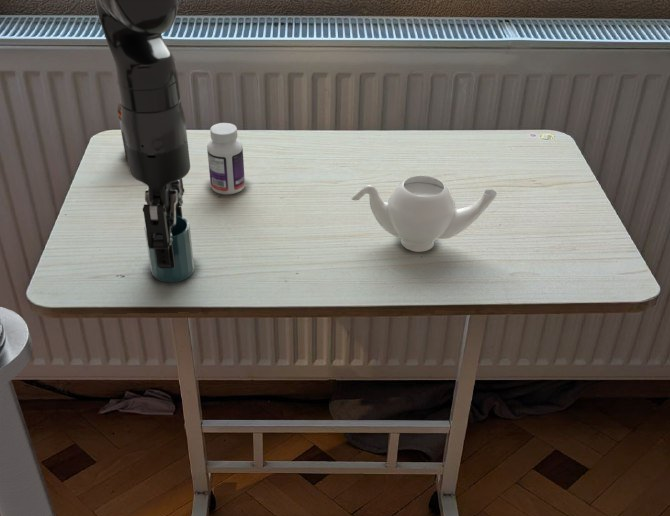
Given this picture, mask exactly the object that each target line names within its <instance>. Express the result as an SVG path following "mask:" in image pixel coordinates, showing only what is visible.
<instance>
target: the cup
mask: <svg viewBox="0 0 670 516" xmlns="http://www.w3.org/2000/svg"><path fill="white" fill-rule="evenodd" d="M169 218H170V215H169V216H166V219H167V220H168V219H169ZM143 228H144V235H145V236H144V237H145V242H146V247H147V254H148V260H149V261H148V262H149V266H150V267H149V268H150V271H151V275H152V276H153V278H154V279H156V280H157V281H160V282H164V283H177V282H182V281H184V280H186V279H189V277H191V276H192V275H193V274H194V271H195V263H194V253H193V244H192V234H191V226H190V223H189V220H187V219H186V218H185V217H181V216H177V215H176V225H175V226H174V227H173V228H172V239H173V242H172V244H173V251H174V259H175V265H174V268H171V269H170V268H159V267H158V265H157V259H156V253H155V249H149V246H148V239H147V232H146V225H144V227H143ZM157 235H160V236H163V235H162V234H161V233H157Z"/></svg>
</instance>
